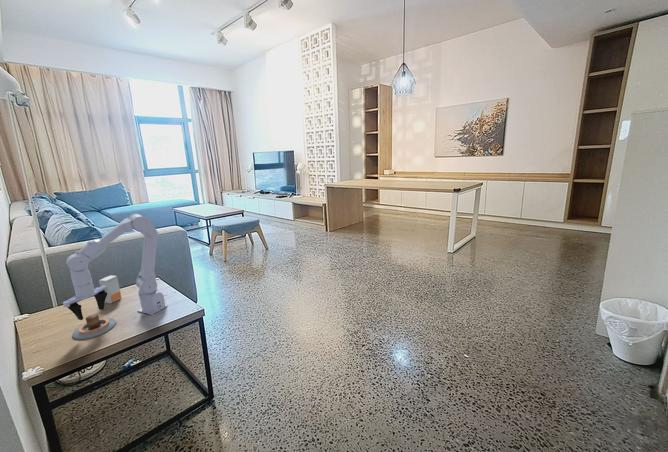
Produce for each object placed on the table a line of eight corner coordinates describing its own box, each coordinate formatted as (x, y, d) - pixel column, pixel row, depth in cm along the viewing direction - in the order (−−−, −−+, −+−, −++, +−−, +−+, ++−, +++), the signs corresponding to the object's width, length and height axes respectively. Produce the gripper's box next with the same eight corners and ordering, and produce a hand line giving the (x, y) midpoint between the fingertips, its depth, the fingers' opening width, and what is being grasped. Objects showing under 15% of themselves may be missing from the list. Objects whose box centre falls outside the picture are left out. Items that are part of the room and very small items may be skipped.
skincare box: (111, 303, 138) (105, 280, 135) (103, 303, 139) (98, 280, 136) (122, 297, 144) (117, 275, 141) (115, 297, 145) (110, 275, 142)
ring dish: (124, 322, 122) (123, 318, 122) (87, 342, 110) (86, 338, 109) (102, 316, 127) (101, 313, 127) (64, 335, 114) (63, 331, 114)
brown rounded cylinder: (103, 325, 119) (100, 315, 118) (92, 331, 116) (89, 320, 114) (96, 323, 121) (94, 313, 119) (86, 329, 117) (83, 318, 116)
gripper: (96, 275, 121) (103, 303, 125) (54, 290, 108) (63, 322, 111) (107, 277, 119) (114, 306, 122) (66, 293, 106) (75, 325, 109)
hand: (91, 314), depth 117 cm, fingers open, 7 cm apart
